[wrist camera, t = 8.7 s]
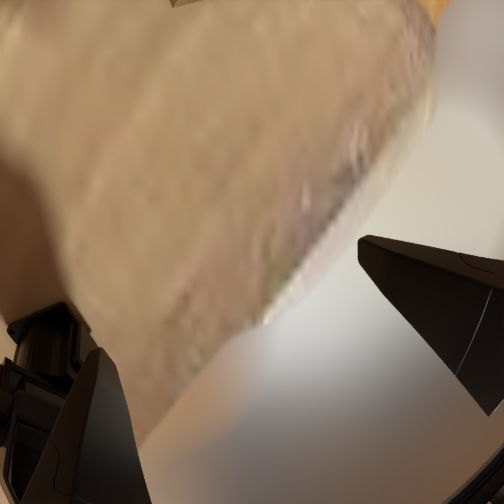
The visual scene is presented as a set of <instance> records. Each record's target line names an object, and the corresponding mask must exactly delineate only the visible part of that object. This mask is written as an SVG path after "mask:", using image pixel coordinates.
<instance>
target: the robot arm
mask: <svg viewBox="0 0 504 504" xmlns="http://www.w3.org/2000/svg"><path fill="white" fill-rule="evenodd" d="M358 261H359V264H360V265H361V267H362V268H363V269H364V270H365V272H366V273H367V274H368V276H369V277H370V278H371V280H372V281H373V282H374V283H375V285H376V286H377V287H378V289H379V290H380V291H381V292H382V294H383V295H384V296H385V297H386V298H387V299H388V300H389V302H391V304H392V305H393V306H394V307H395V308H396V309H397V310H398V311H399V312H400V313H401V314H402V316H403V317H404V318H405V319H406V320H407V321H408V322H409V323H410V324H411V325H412V326H413V328H414V329H415V330H416V331H417V332H418V333H419V334H420V336H421V337H422V338H423V339H424V340H425V341H426V342H427V343H428V345H429V346H430V347H431V348H432V349H433V350H434V351H435V353H436V354H437V355H438V356H439V357H440V358H441V359H442V361H443V362H444V363H445V364H446V365H447V367H448V368H449V369H450V370H451V371H452V372H453V374H454V375H456V377H457V379H458V380H459V381H460V382H461V384H462V385H463V386H464V387H465V388H466V390H467V391H468V392H469V393H470V395H471V396H472V397H473V398H474V399H475V401H476V402H477V403H478V404H479V406H480V407H481V408H482V410H483V411H484V412H485V413H486V415H487V416H490V415H491V414H492V413H493V412H494V411H495V410H496V409H497V408H498V406H499V405H500V404H501V403H502V402H503V400H504V260H497V259H490V258H485V257H478V256H474V255H469V254H464V253H457V252H454V251H449V250H445V249H440V248H435V247H430V246H425V245H420V244H414V243H409V242H404V241H399V240H394V239H389V238H383V237H379V236H373V235H366V236H364V237H362V238H360V239H359V240H358ZM60 308H63V309H64V310H61V309H60ZM12 330H13V331H12ZM7 333H8V334H9V336H10V337H11V338H12V339H13V341H14V342H15V343H16V344H17V347H16V351H15V355H14V359H13V362H12V360H10V359H8V358H7V357H5V358H4V361H3V363H2V364H0V485H1V487H2V489H3V491H4V493H5V496H6V498H7V500H8V502H9V504H152V503H151V499H150V496H149V493H148V490H147V486H146V482H145V479H144V475H143V471H142V468H141V464H140V460H139V456H138V451H137V447H136V443H135V438H134V434H133V429H132V424H131V419H130V415H129V410H128V406H127V403H126V399H125V396H124V393H123V389H122V386H121V382H120V378H119V375H118V371H117V368H116V365H115V364H114V362H113V361H112V359H111V358H110V357H109V356H108V354H107V353H106V352H105V350H104V349H103V348H102V347H98V348H97V344H96V342H95V341H94V340H93V338H92V337H91V335H90V334H89V333H88V331H87V330H86V328H85V327H84V326H83V324H82V323H80V322H78V320H77V319H76V318H75V316H74V315H73V313H72V312H71V310H70V309H69V307H68V306H67V304H65V303H63V302H60V303H57V304H55V305H53V306H50V307H48V308H46V309H43V310H41V311H39V312H37V313H34V314H32V315H30V316H27V317H25V318H23V319H21V320H18V321H16V322H14V323H12V324H9V325H8V328H7ZM489 501H490V502H491V503H492V504H504V442H503V443H502V445H501V446H500V447H499V448H498V449H497V450H496V451H495V452H494V454H493V455H492V456H491V457H490V458H489V459H488V460H487V461H486V462H485V463H484V464H483V465H482V466H481V467H480V468H479V469H478V470H477V471H476V472H475V473H474V474H473V475H472V476H471V477H470V478H469V479H468V480H467V481H466V482H465V483H464V484H463V485H462V486H461V487H460V488H458V489H457V490H456V491H455V492H454V493H453V494H452V495H451V496H449V497H448V498H447V499H446V500H445V501H444V502H442V503H441V504H487V503H488V502H489Z"/></svg>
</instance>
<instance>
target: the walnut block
mask: <svg viewBox="0 0 504 504" xmlns="http://www.w3.org/2000/svg"><path fill="white" fill-rule="evenodd" d="M198 1H202V0H170V2H171V5H172V8H175V7H178V6H182V5H186V4H190V3H194V2H198Z"/></svg>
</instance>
